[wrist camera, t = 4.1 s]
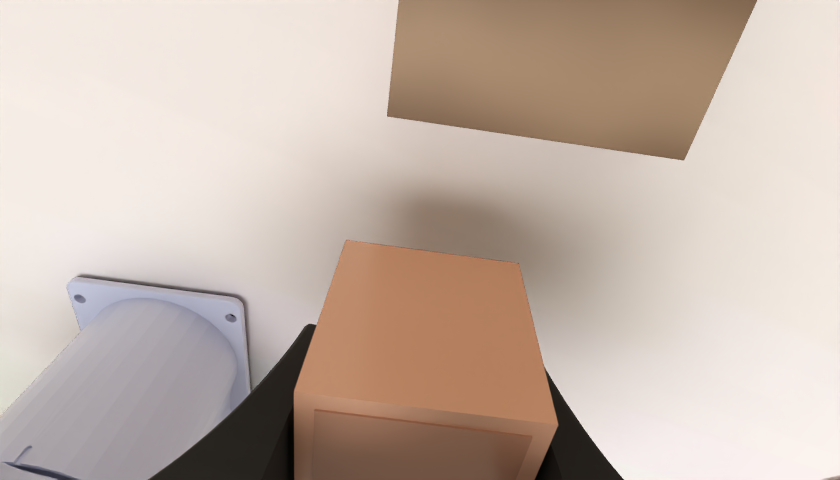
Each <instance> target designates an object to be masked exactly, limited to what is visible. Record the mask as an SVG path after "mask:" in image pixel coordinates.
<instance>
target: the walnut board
mask: <svg viewBox="0 0 840 480" xmlns="http://www.w3.org/2000/svg"><path fill="white" fill-rule="evenodd" d="M756 2H757V0H399V4H398V14H397V24H396V33H395V43H394V53H393V63H392V72H391V82H390V92H389V102H388V112H387V116H388V117H395V118H402V119H409V120H415V121H422V122H429V123H436V124H442V125H449V126H456V127H463V128H469V129H476V130H483V131H489V132H496V133H503V134H510V135H516V136H523V137H530V138H537V139H543V140H550V141H557V142H564V143H570V144H577V145H584V146H590V147H597V148H604V149H611V150H617V151H624V152H631V153H638V154H644V155H651V156H658V157H665V158H671V159H678V160H684V159H685V157H686V155H687V153H688V150H689V148H690V146H691V144H692V142H693V140H694V137H695V135H696V133H697V131H698V129H699V126H700V124H701V122H702V120H703V118H704V115H705V113H706V111H707V109H708V107H709V105H710V102H711V100H712V98H713V96H714V94H715V91H716V89H717V87H718V85H719V83H720V80H721V78H722V76H723V74H724V72H725V70H726V67H727V65H728V63H729V61H730V59H731V56H732V54H733V52H734V50H735V48H736V45H737V43H738V41H739V39H740V37H741V35H742V32H743V30H744V28H745V26H746V24H747V21H748V19H749V17H750V15H751V13H752V10H753V8H754V6H755V4H756Z"/></svg>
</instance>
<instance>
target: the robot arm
mask: <svg viewBox="0 0 840 480" xmlns="http://www.w3.org/2000/svg"><path fill="white" fill-rule="evenodd" d="M67 290H68V293H69V296H70V299H71V302H72V305H73V309H74V312H75V315H76V318H77V321H78V324H79V327H80V330H81V332H80V333H79V334H78V336H77V337H76V338H75V339H74V340H73V341H72V342H71V343H70V344H69V345H68V346H67V347H66V348H65V349H64V350H63V351H62V352H61V353H60V354H59V355H58V356H57V358H56V359H55V360H54V361H53V362H52V363H51V364H50V365H49V366H48V367H47V368H46V369H45V370H44V371H43V372H42V373H41V374H40V375H39V376H38V377H37V378H36V380H35V381H34V382H33V383H32V384H31V385H30V386H29V387H28V388H27V389H26V390H25V391H24V392H23V393H22V394H21V395H20V396H19V397H18V398H17V399H16V400H15V402H14V403H13V404H12V405H11V406H10V407H9V408H8V409H7V410H6V411H5V412H4V413H3V414H2V415H1V416H0V480H294V390H295V387H296V384H297V381H298V378H299V375H300V372H301V369H302V366H303V363H304V361H305V358H306V355H307V352H308V349H309V346H310V343H311V340H312V337H313V334H314V331H315V329H316V326H317V325H314V324H308V325H306V326H305V327H304V328H303V330H302V331H301V333H300V334H299V336H298V337H297V339H296V340H295V341H294V343H293V344H292V345H291V347H290V348H289V349H288V351H287V352H286V353H285V354H284V356H283V357H282V358H281V359H280V361H279V362H278V363H277V364H276V365H275V366H274V368H273V369H272V370H271V371H270V372H269V373H268V375H267V376H266V377H265V378H264V379H263V380H262V381H261V382H260V384H259V385H258V386H257V387H256V388H255V389H254V390H253V391H252V392H251V390H250V377H249V365H248V353H247V341H246V329H245V317H244V306H243V303H242V302H241V301H240V300H239V299H237V298H234V297H228V296H221V295H213V294H205V293H198V292H190V291H182V290H175V289H167V288H159V287H152V286H144V285H136V284H129V283H121V282H113V281H105V280H98V279H90V278H82V277H75V278H73V279H72V280H70V281H69V282H68V284H67ZM230 314H232V315H234V316H235V317H233V316H231V315H230ZM544 369H545V367H544ZM545 373H546V377H547V381H548V385H549V389H550V393H551V397H552V401H553V405H554V409H555V413H556V417H557V421H558V427H557V429H556V431H555V434H554V436H553V438H552V441H551V443H550V445H549V448H548V450H547V452H546V454H545V457H544V459H543V461H542V464H541V466H540V468H539V471H538V473H537V475H536V477H535V480H624V479H623V478H622V477H621V476H620V475H619V474H618V472H617V471H616V470H615V469H614V468H613V466H612V465H611V464H610V463H609V462H608V460H607V459H606V458H605V456H604V455H603V454H602V453H601V451H600V450H599V449H598V447H597V446H596V445H595V443H594V442H593V441H592V439H591V438H590V437H589V435H588V434H587V432H586V431H585V430H584V428H583V427H582V425H581V424H580V423H579V421H578V420H577V418H576V417H575V415H574V414H573V412H572V411H571V409H570V408H569V406H568V405H567V403H566V402H565V400H564V398H563V397H562V395H561V394H560V392H559V390H558V389H557V387H556V386H555V384H554V382H553V381H552V379H551V377H550V376H549V374H548V372H547V371H546V369H545Z"/></svg>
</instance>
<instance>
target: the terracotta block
mask: <svg viewBox="0 0 840 480" xmlns="http://www.w3.org/2000/svg"><path fill="white" fill-rule="evenodd" d="M557 427H558V421H557V417H556V413H555V409H554V405H553V401H552V397H551V393H550V389H549V385H548V381H547V377H546V373H545V369H544V364H543V360H542V356H541V352H540V348H539V344H538V340H537V336H536V332H535V328H534V324H533V320H532V316H531V312H530V307H529V303H528V299H527V295H526V291H525V287H524V283H523V279H522V275H521V271H520V267H519V263H512V262H505V261H497V260H490V259H483V258H475V257H468V256H461V255H453V254H446V253H438V252H431V251H424V250H416V249H409V248H402V247H394V246H387V245H379V244H372V243H365V242H357V241H350V240H346V242H345V244H344V247H343V250H342V253H341V256H340V259H339V262H338V265H337V268H336V271H335V273H334V276H333V279H332V282H331V285H330V288H329V291H328V294H327V297H326V300H325V302H324V305H323V308H322V311H321V314H320V317H319V320H318V323H317V326H316V329H315V331H314V334H313V337H312V340H311V343H310V346H309V349H308V352H307V355H306V358H305V361H304V363H303V366H302V369H301V372H300V375H299V378H298V381H297V384H296V387H295V390H294V480H535V477H536V475H537V473H538V471H539V468H540V466H541V464H542V461H543V459H544V457H545V454H546V452H547V450H548V448H549V445H550V443H551V441H552V438H553V436H554V434H555V431H556V429H557Z"/></svg>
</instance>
